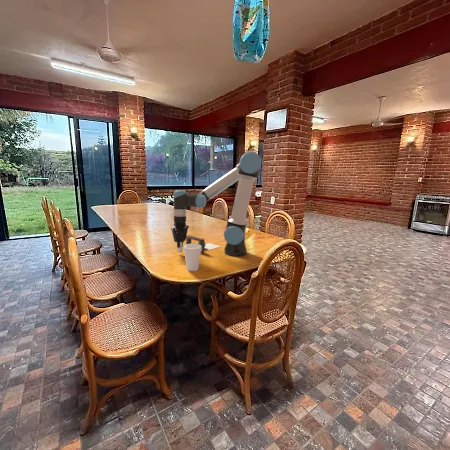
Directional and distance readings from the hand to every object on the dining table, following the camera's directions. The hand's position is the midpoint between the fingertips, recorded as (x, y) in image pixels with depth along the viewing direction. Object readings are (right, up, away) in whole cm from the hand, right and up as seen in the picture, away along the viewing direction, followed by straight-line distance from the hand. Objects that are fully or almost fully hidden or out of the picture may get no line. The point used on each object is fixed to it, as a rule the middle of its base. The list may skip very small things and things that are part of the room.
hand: (180, 252), depth 155 cm
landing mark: (+17, +2, +21) cm, 27 cm away
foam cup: (+11, -7, -22) cm, 25 cm away
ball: (+12, +3, +15) cm, 20 cm away
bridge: (+8, 0, +10) cm, 13 cm away
